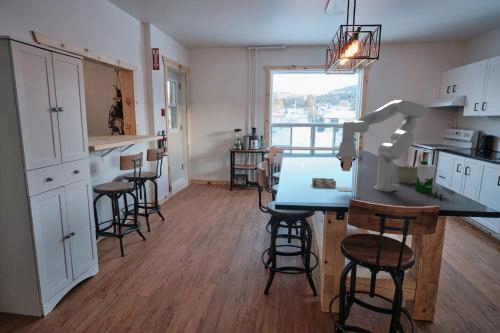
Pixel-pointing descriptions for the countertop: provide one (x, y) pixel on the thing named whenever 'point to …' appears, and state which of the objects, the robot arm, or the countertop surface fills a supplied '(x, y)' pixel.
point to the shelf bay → (323, 182)
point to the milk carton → (425, 177)
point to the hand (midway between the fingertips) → (346, 167)
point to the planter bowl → (407, 174)
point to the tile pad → (344, 189)
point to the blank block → (346, 164)
